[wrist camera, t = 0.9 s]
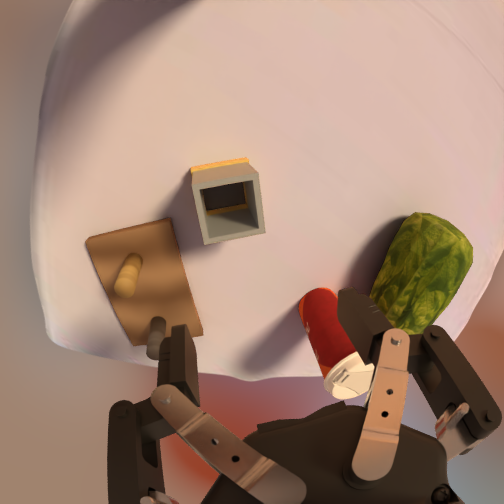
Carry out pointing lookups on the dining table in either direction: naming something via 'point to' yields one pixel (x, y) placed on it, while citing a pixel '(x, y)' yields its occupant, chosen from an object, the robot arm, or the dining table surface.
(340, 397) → the paper cup
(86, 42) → the dining table surface
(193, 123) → the dining table surface
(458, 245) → the lettuce
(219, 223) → the sleeve
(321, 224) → the dining table surface
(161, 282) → the pin board
